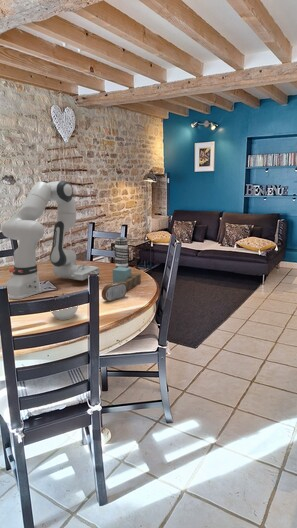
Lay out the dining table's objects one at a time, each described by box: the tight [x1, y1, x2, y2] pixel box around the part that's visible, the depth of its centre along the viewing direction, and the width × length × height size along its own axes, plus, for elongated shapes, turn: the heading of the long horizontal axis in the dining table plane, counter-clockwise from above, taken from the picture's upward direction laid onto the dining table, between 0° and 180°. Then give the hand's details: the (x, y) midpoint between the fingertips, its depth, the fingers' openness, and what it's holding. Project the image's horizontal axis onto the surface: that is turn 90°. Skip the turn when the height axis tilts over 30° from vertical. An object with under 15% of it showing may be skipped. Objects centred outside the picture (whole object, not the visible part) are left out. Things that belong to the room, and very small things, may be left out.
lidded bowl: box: [50, 292, 79, 321], centre depth 156 cm, size 13×13×11 cm
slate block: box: [112, 267, 132, 283], centre depth 204 cm, size 8×8×10 cm
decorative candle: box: [113, 236, 130, 268], centre depth 223 cm, size 9×9×25 cm
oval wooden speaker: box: [101, 282, 128, 302], centre depth 180 cm, size 15×3×8 cm, turn 136°
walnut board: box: [122, 273, 142, 293], centre depth 202 cm, size 22×3×5 cm, turn 159°
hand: (98, 274), depth 209 cm, fingers closed
